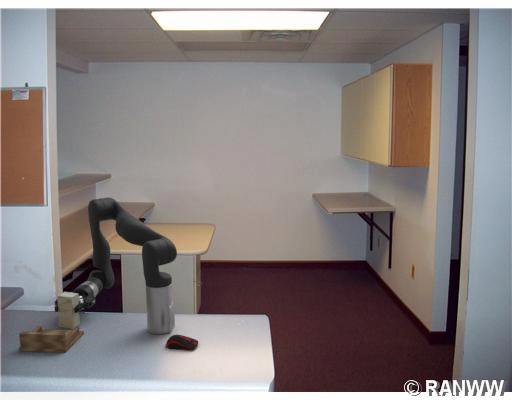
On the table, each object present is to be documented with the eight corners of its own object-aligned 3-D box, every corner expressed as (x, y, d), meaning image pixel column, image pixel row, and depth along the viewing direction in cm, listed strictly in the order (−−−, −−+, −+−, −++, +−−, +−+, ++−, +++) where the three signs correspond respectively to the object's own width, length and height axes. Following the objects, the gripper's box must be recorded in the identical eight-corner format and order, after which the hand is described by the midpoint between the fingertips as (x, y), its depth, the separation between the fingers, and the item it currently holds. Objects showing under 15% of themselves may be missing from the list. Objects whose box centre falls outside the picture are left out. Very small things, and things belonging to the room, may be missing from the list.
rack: (84, 333, 177) (83, 317, 176) (65, 352, 163) (64, 335, 162) (40, 331, 178) (39, 316, 177) (19, 350, 164) (17, 333, 163)
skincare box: (58, 327, 182) (56, 295, 180) (66, 322, 186) (64, 291, 184) (73, 329, 180) (71, 297, 178) (81, 324, 185) (78, 293, 182)
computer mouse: (195, 352, 164) (194, 341, 163) (163, 349, 166) (163, 338, 165) (200, 343, 170) (200, 332, 169) (169, 341, 172) (169, 330, 171)
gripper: (66, 283, 196) (45, 299, 180) (102, 284, 195) (84, 300, 179) (68, 301, 197) (47, 319, 181) (103, 303, 196) (85, 320, 180)
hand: (65, 310), depth 180 cm, fingers closed on skincare box, 6 cm apart
